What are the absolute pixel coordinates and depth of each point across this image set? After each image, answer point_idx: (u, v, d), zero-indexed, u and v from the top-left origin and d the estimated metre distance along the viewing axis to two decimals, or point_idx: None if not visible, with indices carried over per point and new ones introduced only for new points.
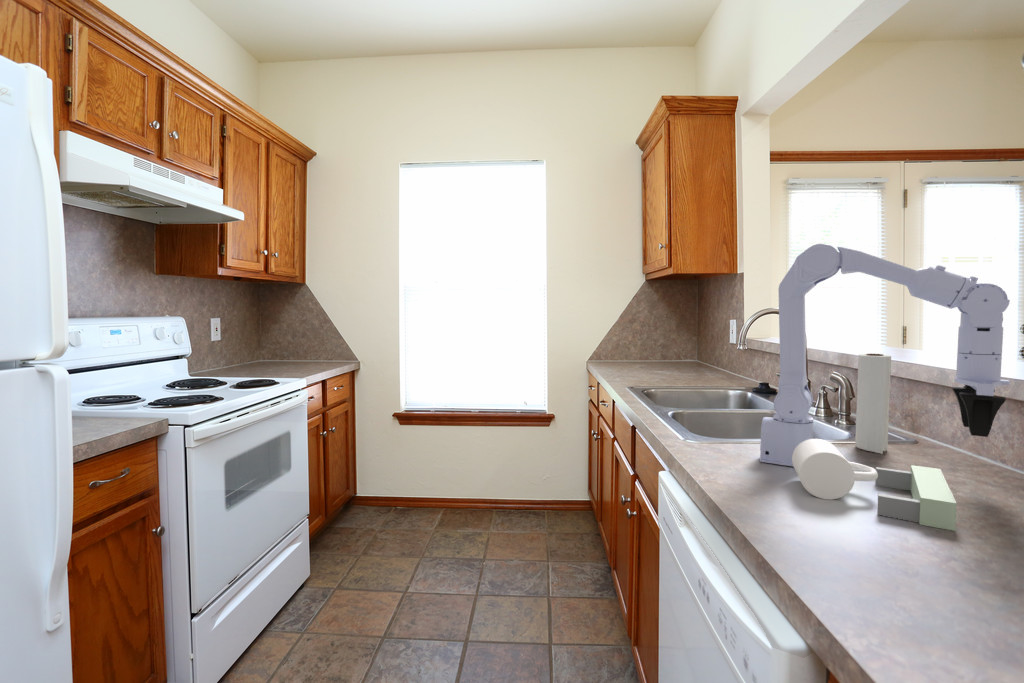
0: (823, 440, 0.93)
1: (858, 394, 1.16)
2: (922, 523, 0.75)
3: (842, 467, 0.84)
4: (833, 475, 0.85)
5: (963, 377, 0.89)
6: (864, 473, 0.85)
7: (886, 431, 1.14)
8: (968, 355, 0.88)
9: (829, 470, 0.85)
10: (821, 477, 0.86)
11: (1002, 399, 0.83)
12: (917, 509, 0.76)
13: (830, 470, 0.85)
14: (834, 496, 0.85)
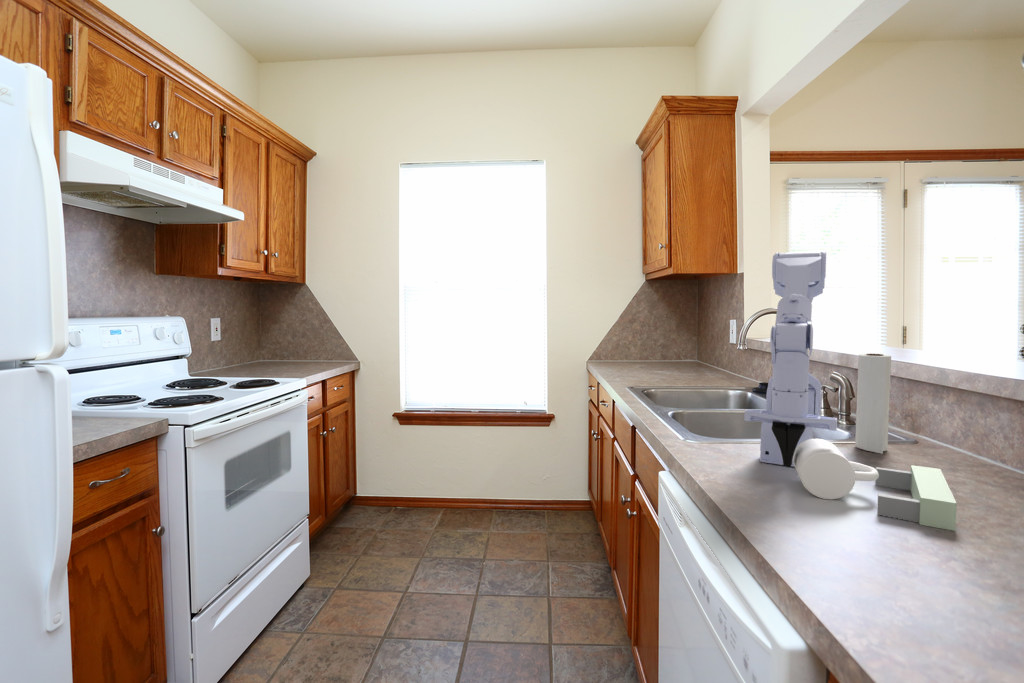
0: (824, 440, 0.93)
1: (858, 394, 1.16)
2: (922, 523, 0.75)
3: (843, 466, 0.84)
4: (834, 475, 0.85)
5: None
6: (864, 473, 0.85)
7: (886, 431, 1.14)
8: None
9: (830, 469, 0.85)
10: (822, 477, 0.86)
11: (772, 428, 0.92)
12: (917, 509, 0.76)
13: (831, 470, 0.85)
14: (835, 496, 0.85)
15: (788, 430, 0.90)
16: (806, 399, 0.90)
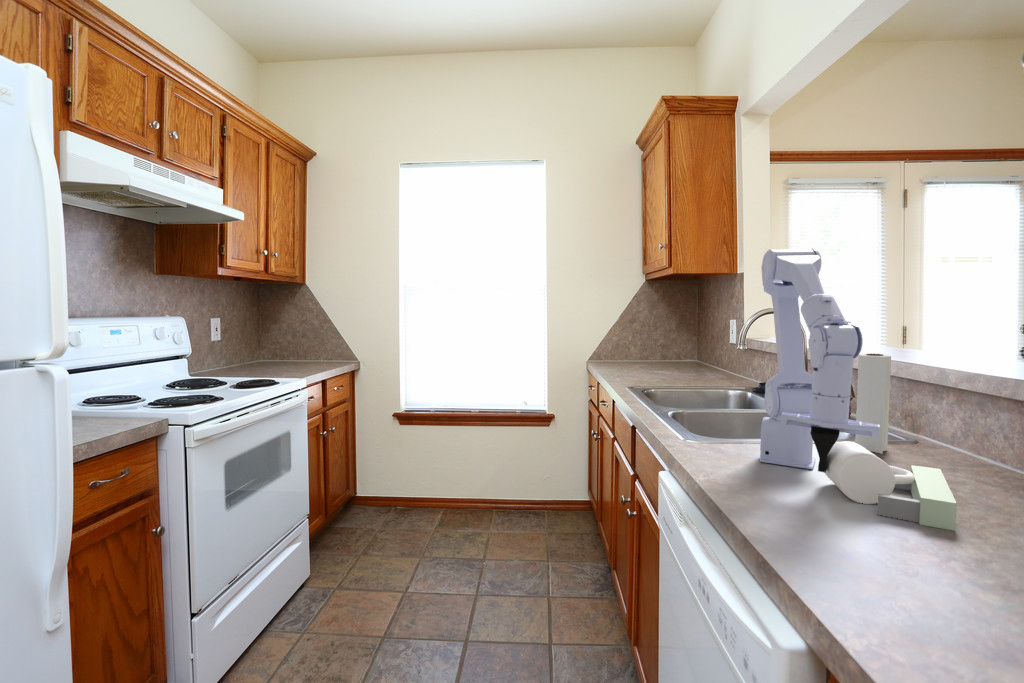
0: None
1: (858, 394, 1.16)
2: (922, 523, 0.75)
3: (883, 470, 0.82)
4: (873, 479, 0.83)
5: None
6: (902, 476, 0.83)
7: (886, 431, 1.14)
8: None
9: (869, 473, 0.83)
10: (861, 481, 0.83)
11: (811, 433, 0.89)
12: (917, 509, 0.76)
13: (870, 474, 0.83)
14: (874, 500, 0.83)
15: (822, 435, 0.88)
16: (848, 404, 0.87)
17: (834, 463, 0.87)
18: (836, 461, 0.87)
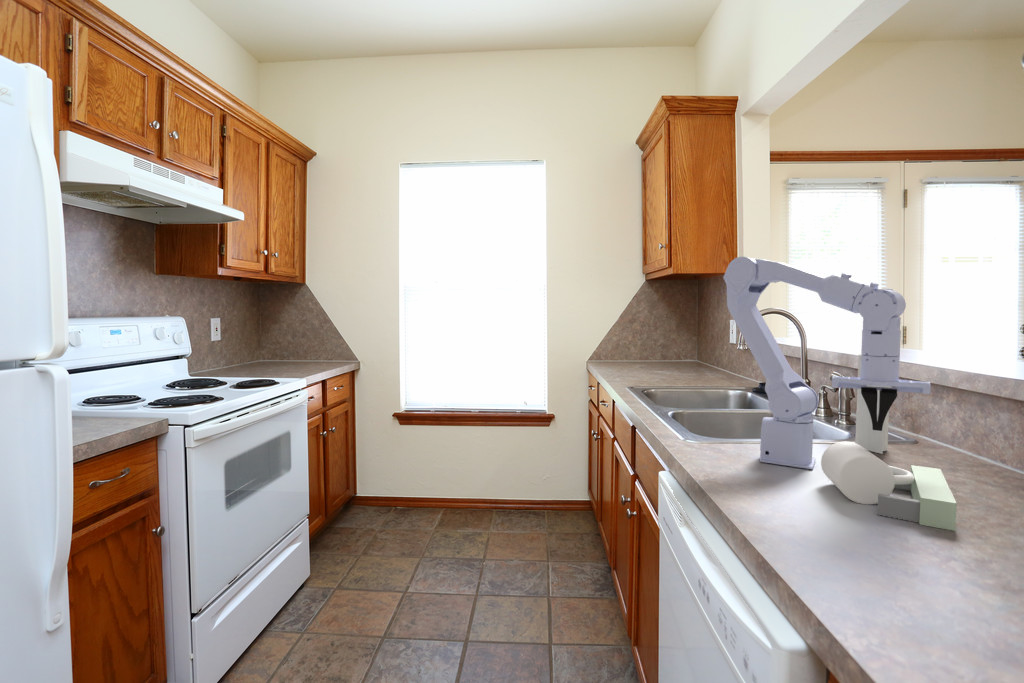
0: (853, 443, 0.91)
1: (858, 394, 1.16)
2: (922, 523, 0.75)
3: (882, 470, 0.82)
4: (873, 479, 0.83)
5: None
6: (902, 476, 0.83)
7: (886, 431, 1.14)
8: (864, 355, 0.96)
9: (869, 474, 0.83)
10: (860, 482, 0.83)
11: (862, 393, 0.94)
12: (917, 509, 0.76)
13: (870, 474, 0.83)
14: (874, 501, 0.83)
15: (881, 394, 0.92)
16: (898, 364, 0.92)
17: (834, 463, 0.87)
18: (836, 461, 0.87)
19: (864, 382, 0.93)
